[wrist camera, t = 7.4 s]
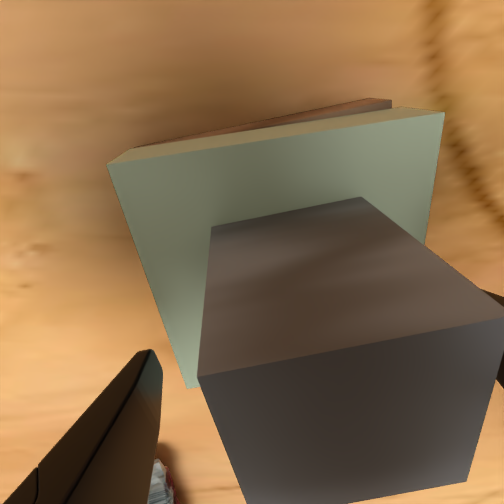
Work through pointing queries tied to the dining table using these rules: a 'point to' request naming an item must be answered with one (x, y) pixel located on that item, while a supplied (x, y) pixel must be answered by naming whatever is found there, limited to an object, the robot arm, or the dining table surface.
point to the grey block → (343, 356)
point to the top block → (264, 194)
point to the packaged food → (161, 486)
